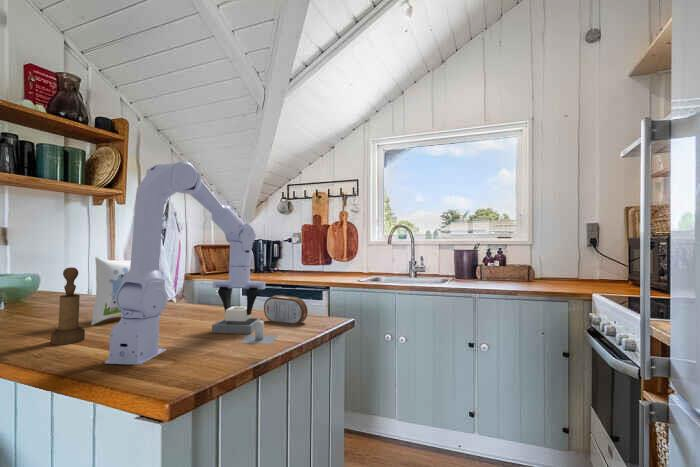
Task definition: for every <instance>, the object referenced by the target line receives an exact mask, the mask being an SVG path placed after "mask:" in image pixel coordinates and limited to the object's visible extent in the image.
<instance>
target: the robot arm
mask: <svg viewBox="0 0 700 467" xmlns="http://www.w3.org/2000/svg"><path fill="white" fill-rule="evenodd" d="M176 193H180V194H185V195H187V194H188V195H190V196H191V197H193V199H195V200H196V201H197V202H198V203H199V204H200V205H201V206H203V207H204V208H205V210H207V211H208V212H209V213H211V215H210V218H211V221H212V222H214V224H215V225H216V226H217V227H218V228H219V229H220V230H221V231H222V232H223V233H224V236H225V237H224V238H225V240H226V242H227V243H229V264H228V267H229V268H228V280H213V281H212V289H218V290H217V294H218V295H219V297H220V299H221V302H222V305H223V308H224V313H225V312H226V309H228V308H230V307H232V306H231V305H232V304H231V302H232V301H231V300H232V292H233V289H245V293H246V302H247V303H246V307H247V315H250V314H251V315H252V312H253V308H254V304H255V301H256V299H257V296H258V295H259V293H260V290H266V281H258V280H256V281H255V280H251V253H252V252H251V251H252V249H253V245H254V242H255V240H256V236H257V233H255V230H254V228H253V227H252V226H251V225H250V224H248V223H245V222H244V220H243V219H242V218H240V217H239V216H238V214H236V212H235V211H234V208H233V207H232V206H231V205H227V204H221V202H220V201H219V200H218V199H217V197H216V196H215V195H214V193H213V192H212V191H211V190H210V188H209V187H208V186H207V185H206V184H205V182H204V181H203V180H202V175H201V172H199V170H197V169H196V168H195V166H194V165H193V164H192V163H191V162H188V161H186V160H182V161H181V160H180V161H177V162H172V163H171V162H170V163H165V164H164V163H163V164H160V163H159V164H156V165H154V166H151V167H149V168H147V169H146V175H145V176H144V177H143V179H142V181H141V182H140V183H139V185H138V186H137V188H136V194H135V207H134V219H133V228H132V230H133V231H132V242H131V254H130V255H131V256H130V260H131V265H130V270H129V272H128V273H126V274H125V275H124V276H123V277H122V279H121V286H120V288H119V290H118V291H117V293H116V297H115V301H116V304H117V306H118V307H119V308H120V309H121V315H120V316H121V317H120V319H119V322H117V323H115V324H114V325H113V326H112V328H111V330H110V333H109V347H108V349H109V351H108V352H109V353H108V359H106V360H104V364H108V365H139V366H141V365H145V362H148V361H149V360H151V359H152V358H154V357H156V356H158V355H160V354H162V353H163V352H165V351H167V349H166V348H159V347H160V346H159V344H160V320H161V319H160V318H161V317H160V316H162V311H163V310H164V309H165V308H166V306H167V305H168V292H167V290H166V287H165V285H166V283H165V281H166V280H165V278H164V276H163V275H162V273H161V272H160V259H161V258H160V257H161V246H162V244H161V243H162V233H163V231H162V230H163V222H164V221H163V220H164V206H165V205H164V204H165V201H166V200H167V199H169V198H170V197H171V196H173V195H175V194H176ZM246 289H247V290H246Z"/></svg>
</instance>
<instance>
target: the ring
mask: <svg viewBox="0 0 700 467" xmlns="http://www.w3.org/2000/svg"><path fill="white" fill-rule="evenodd" d="M224 315H225V316H224V318H225V321H246V320H248V319H249V318H252V313H251V314H250V315H247V306H231V307H230V308H228V309H226V312H225V311H224Z"/></svg>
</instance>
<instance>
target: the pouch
mask: <svg viewBox="0 0 700 467" xmlns="http://www.w3.org/2000/svg"><path fill="white" fill-rule="evenodd" d="M94 259H95V270H96V271H95V275H96V276H95V280H96V281H95V283H96V284H95V285H96V287H95V288H96V290H95V298H94V304H93V305H94V306H93V313H92V319H91V326H94V325H96V324H98V323H100V322H102V321H105V320H108V319H111V318H115V317H118V316H121V309H120V308H119V307H118V306H117V304H116V301H115V297H116V293H117V291H118V290H119V288H120V286H121V279H122V277H123V276H124V275H125V274H126V273H128V272H129V270H130V265H131V259H128V260H118V259H114V260H113V259H111V260H110V259H104V258H101V257H99V256H95V258H94Z"/></svg>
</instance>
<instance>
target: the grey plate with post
mask: <svg viewBox="0 0 700 467" xmlns="http://www.w3.org/2000/svg"><path fill="white" fill-rule="evenodd" d="M264 325H265V321H264V320H263V319H262V320H259V321H256V329H255V331H254V332H255V333H254V334H247V335H246V336H245V337H244V338H242V339H241V340H240V341H239V342H238V344H252V345H254V344H256V345H257V344H258V345H263V344H264V345H272V344H273V343H274V341H275V340H276V339H277V338H278V337H279V335H277V334H274V335H273V334H272V335H271V334H270V335H269V334H264V329H265V328H264Z"/></svg>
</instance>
